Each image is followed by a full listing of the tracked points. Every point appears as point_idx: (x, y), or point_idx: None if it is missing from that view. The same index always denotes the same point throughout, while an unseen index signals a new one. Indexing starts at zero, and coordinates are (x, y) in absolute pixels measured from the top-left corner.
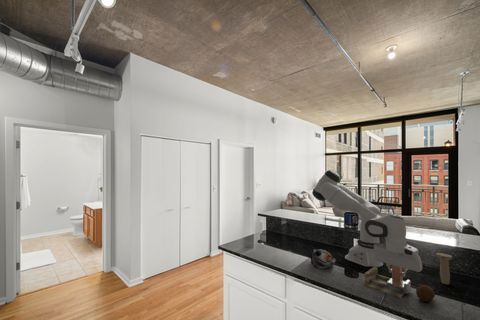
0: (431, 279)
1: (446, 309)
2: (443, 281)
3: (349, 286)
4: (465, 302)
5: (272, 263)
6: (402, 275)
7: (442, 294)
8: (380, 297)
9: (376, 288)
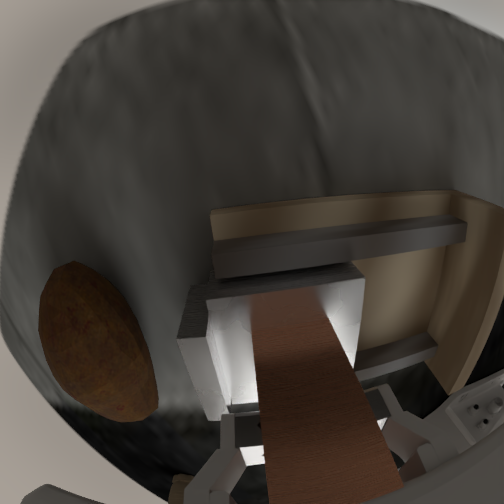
0: None
1: (31, 300)
2: (185, 481)
3: (487, 95)
4: (67, 407)
5: None
6: (241, 423)
7: None
8: (321, 72)
9: (398, 194)
